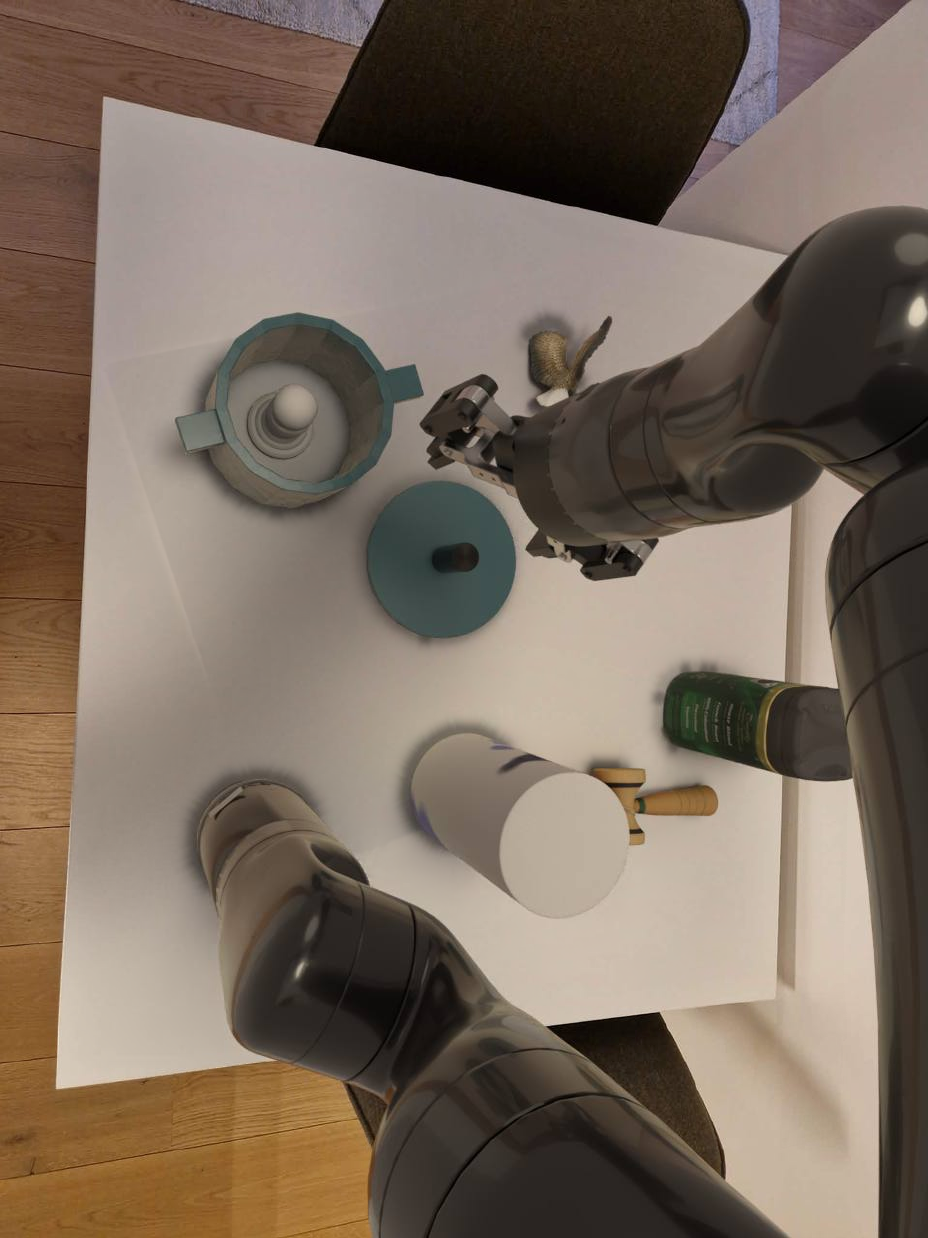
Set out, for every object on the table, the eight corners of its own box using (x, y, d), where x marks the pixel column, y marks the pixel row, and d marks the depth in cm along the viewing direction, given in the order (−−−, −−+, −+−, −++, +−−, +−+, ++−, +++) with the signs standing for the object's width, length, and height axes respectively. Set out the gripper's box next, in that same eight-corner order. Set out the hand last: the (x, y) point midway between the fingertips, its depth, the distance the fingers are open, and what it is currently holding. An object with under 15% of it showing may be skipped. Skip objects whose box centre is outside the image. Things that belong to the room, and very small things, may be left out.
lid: (527, 610, 81) (559, 611, 75) (391, 658, 76) (413, 662, 70) (487, 465, 79) (516, 455, 73) (345, 505, 74) (363, 497, 69)
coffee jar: (656, 749, 86) (791, 787, 69) (662, 668, 86) (798, 686, 69) (737, 751, 90) (885, 787, 72) (743, 673, 90) (892, 691, 72)
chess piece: (234, 435, 70) (249, 413, 62) (267, 380, 71) (286, 351, 63) (292, 472, 72) (314, 455, 64) (324, 417, 73) (350, 393, 65)
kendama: (689, 748, 89) (541, 757, 80) (736, 771, 84) (582, 782, 75) (677, 821, 90) (529, 837, 81) (721, 847, 85) (569, 867, 76)
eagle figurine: (613, 419, 82) (616, 318, 80) (610, 419, 75) (613, 308, 73) (531, 419, 84) (533, 320, 82) (521, 420, 77) (522, 311, 75)
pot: (404, 477, 76) (446, 459, 66) (198, 534, 70) (210, 523, 60) (362, 332, 75) (398, 292, 65) (147, 377, 69) (151, 340, 59)
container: (518, 734, 81) (637, 775, 62) (508, 844, 80) (624, 917, 62) (414, 729, 77) (508, 771, 58) (403, 844, 77) (494, 922, 58)
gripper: (466, 417, 39) (369, 469, 54) (681, 617, 43) (535, 613, 58) (561, 294, 40) (441, 378, 55) (759, 499, 44) (597, 525, 59)
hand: (489, 498), depth 57 cm, fingers open, 8 cm apart
